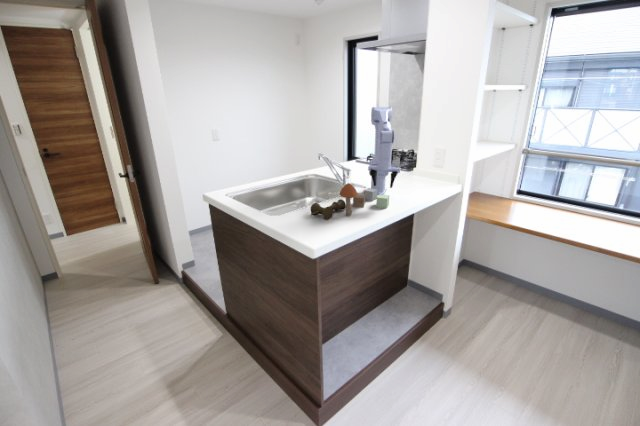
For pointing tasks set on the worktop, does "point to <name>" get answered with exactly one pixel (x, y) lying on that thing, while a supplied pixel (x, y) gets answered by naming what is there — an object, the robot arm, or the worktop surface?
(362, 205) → the walnut cube
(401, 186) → the worktop surface
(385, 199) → the sage cube
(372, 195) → the grey cube
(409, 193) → the worktop surface
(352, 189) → the mushroom
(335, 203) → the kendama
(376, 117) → the robot arm
